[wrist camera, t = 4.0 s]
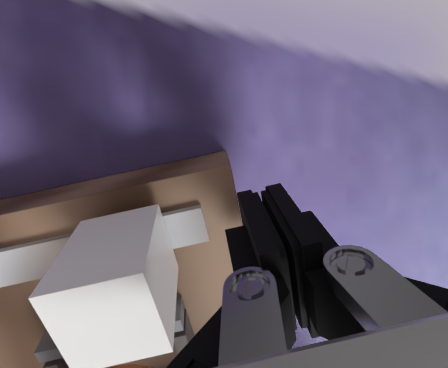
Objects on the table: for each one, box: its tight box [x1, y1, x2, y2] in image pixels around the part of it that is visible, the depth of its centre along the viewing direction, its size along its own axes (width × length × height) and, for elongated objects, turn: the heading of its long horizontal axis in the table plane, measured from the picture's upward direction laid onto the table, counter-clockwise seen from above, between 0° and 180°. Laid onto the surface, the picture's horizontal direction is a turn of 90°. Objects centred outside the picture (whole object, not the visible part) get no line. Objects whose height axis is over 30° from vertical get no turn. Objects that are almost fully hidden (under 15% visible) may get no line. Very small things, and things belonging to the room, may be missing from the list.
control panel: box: [0, 151, 243, 368], centre depth 14 cm, size 21×12×4 cm, turn 101°
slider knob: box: [28, 204, 178, 368], centre depth 10 cm, size 3×3×4 cm
